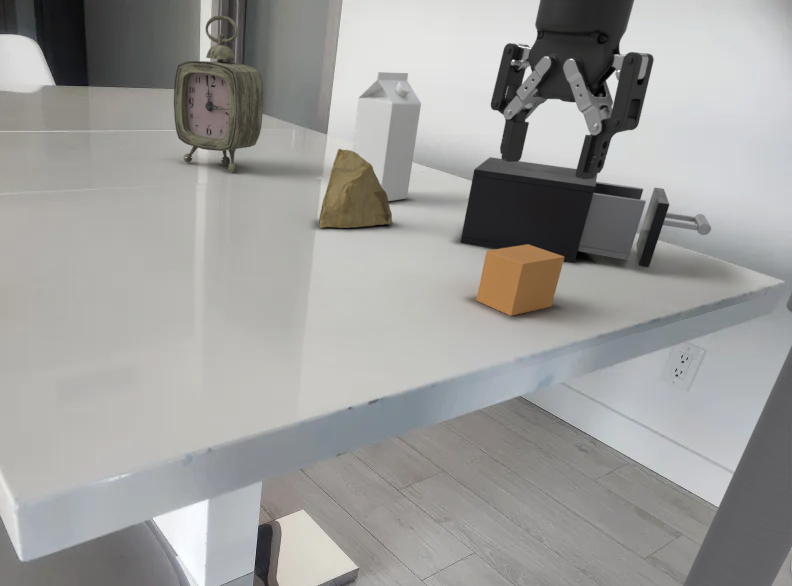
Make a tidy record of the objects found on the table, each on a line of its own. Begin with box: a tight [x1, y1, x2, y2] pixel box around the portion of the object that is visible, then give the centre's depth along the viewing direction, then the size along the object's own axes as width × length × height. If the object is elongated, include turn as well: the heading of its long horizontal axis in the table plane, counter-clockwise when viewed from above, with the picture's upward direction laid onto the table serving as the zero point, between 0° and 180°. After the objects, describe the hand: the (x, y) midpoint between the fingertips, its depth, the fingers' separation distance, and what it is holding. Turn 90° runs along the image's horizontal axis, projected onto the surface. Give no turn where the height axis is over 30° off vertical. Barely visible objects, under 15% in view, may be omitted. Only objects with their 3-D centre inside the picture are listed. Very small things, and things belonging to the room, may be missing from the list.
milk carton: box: [352, 71, 422, 202], centre depth 108 cm, size 7×7×19 cm
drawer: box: [577, 181, 712, 268], centre depth 87 cm, size 19×11×8 cm, turn 66°
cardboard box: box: [476, 244, 565, 317], centre depth 69 cm, size 6×5×5 cm
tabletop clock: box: [173, 15, 264, 173], centre depth 121 cm, size 14×9×25 cm, turn 56°
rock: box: [318, 148, 393, 229], centre depth 93 cm, size 11×9×10 cm
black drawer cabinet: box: [460, 156, 599, 264], centre depth 91 cm, size 15×13×10 cm
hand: (545, 169), depth 64 cm, fingers open, 8 cm apart
